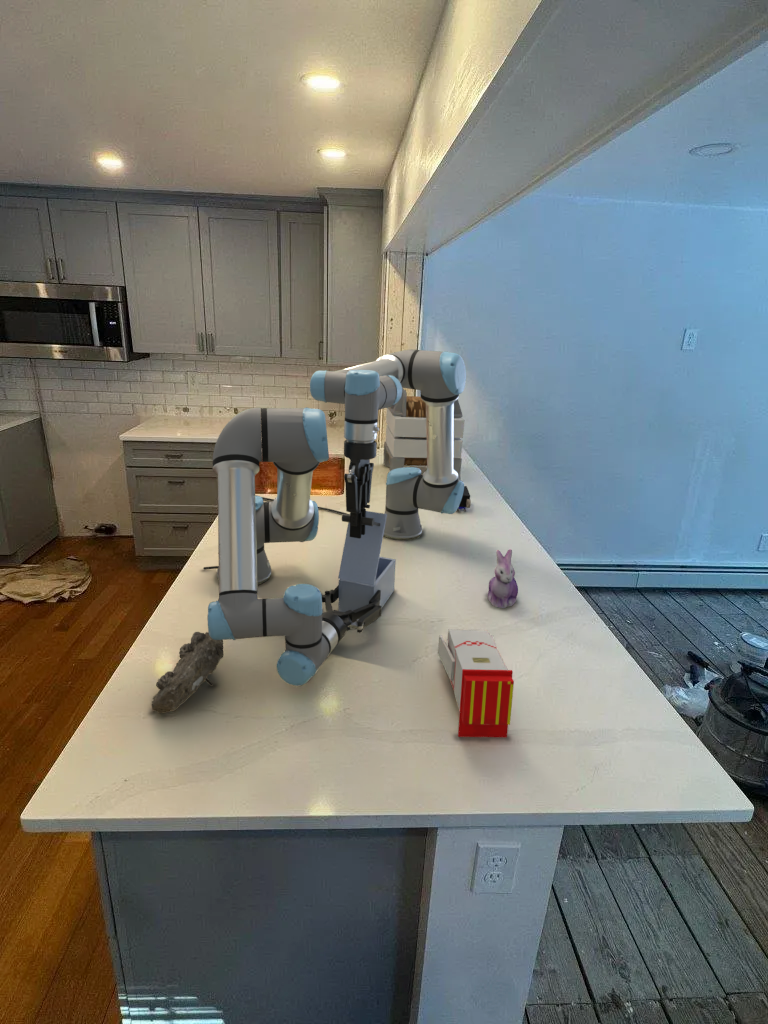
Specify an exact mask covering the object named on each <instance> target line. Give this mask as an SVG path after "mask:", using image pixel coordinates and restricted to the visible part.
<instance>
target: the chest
mask: <svg viewBox="0 0 768 1024" xmlns="http://www.w3.org/2000/svg"><path fill="white" fill-rule="evenodd" d="M396 561H397V559H396V558H390V557H384V556H380V557H379V563H378V569H377V574H376V580H375V585H369V584H364V583H358V582H353V581H348V580H343V579H338V585H339V598H338V602H337V603H338V608H337V609H338V610H337V611H340V612H346V611H348V610H352V611H353V610H355V609H358V608H360V607H363V606H365V605H368V604H369V601H370V599H371V598H372V597H373V596H374V594H375V593H376V592H377V591H378V590H381V597H380V606H382V608H383V607H384V606H385V605H386V603H387V601H388V600H389V598H390V597H391V596H392V594H393V593H394V592H395V583H396V565H397V563H396Z"/></svg>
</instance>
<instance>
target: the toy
mask: <svg viewBox="0 0 768 1024" xmlns="http://www.w3.org/2000/svg"><path fill="white" fill-rule="evenodd" d="M446 640H447V643H446V641H445V639H444V636H443V635H442V634H439V637H438V646H437V656H438V657H439V659H440V661H441V663H442V666H443V668H444V670H445V672H446V674H447V677H448V679H449V681H450V684H451V687H452V690H453V693H454V697H455V701H456V705H457V708H458V711H459V714H458V715H459V716H458V730H457V731H458V732H457V737H458V738H508V731H509V726H510V725H511V717H512V707H513V697H514V696H513V695H514V684H515V680H514V679H513V673H514V671H513V670H512V669H508V667H507V665H506V662H505V661H504V659H503V658H502V655H501V653H500V651H499V649H498V647H497V643H496V639H495V637H494V635H493V634H491V632H490V631H489V629H467V628H466V629H465V628H463V629H461V628H460V629H459V628H448V630H447V639H446Z"/></svg>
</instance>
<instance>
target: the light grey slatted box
mask: <svg viewBox="0 0 768 1024" xmlns="http://www.w3.org/2000/svg"><path fill="white" fill-rule="evenodd" d="M407 394H408V393H407V390H406V389H405V388H402V396H401V398H400V400H399V401H398V402H397V403H396V404H394V405H392V406H391V407H388V408H386V413H385V414H386V415H385V423H386V428H385V438H384V442H383V466H384V467H388V468H389V472H390V471H391V470H393V469H397V468H404V467H405V466H406V467H417V466H418V467H427V436H426V403H425V402H424V401H423V400H422V399H421V396H415V395H414V396H413V395H412V396H411V395H407ZM464 429H465V419H464V418H463V411H462V408H461V405H460V402H459V398H458V399H457V400H456V401H455V402H454V470H455V471H456V472H457V473H458V481H459V480H461V472H462V461H463V460H462V453H463V442H464V441H463V440H462V439H463V438H464V431H465V430H464Z"/></svg>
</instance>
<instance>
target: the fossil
mask: <svg viewBox="0 0 768 1024" xmlns="http://www.w3.org/2000/svg"><path fill="white" fill-rule="evenodd" d="M178 654H179V660H178V661H177V663H176V664H175V666H174V668H173V670H172V671H171V670H170V671H166V672H165V673H164V674H163V675H161V676H160V677H159V678H158V679H157V682H156V683H155V687H157V689H158V691H157V693H156V694H155V695H154V696H152V700H151V709H152V711H153V712H157V713H158V714H165V713H170V712H174V711H176V710H177V709H178V708H179V707H180V706H181V705H182V704H184V703H185V702H186V701H187V700H188V699H189V698H190V697H191V696H193V695H194V694H195V693H196V692H197V691H198V689H199V688H200V686H201V685H202V684H204V682H206V683H208V684H209V686H212V687H213V686H214V683H212V681H211V680H209V678H208V677H209V675H210V674H213V673H214V671H215V670H216V669H217V667H218V665H219V663H220V661H221V660H222V659H223V658H224V654H225V653H224V640H214V639H212V638H211V637H210V635H209V632H207V631H206V632H205V633H204V632H200V631H195V632H193V634H192V636H191V638H190V642H187V643H184V644H183V645H182V646H180V648H179V653H178Z"/></svg>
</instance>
